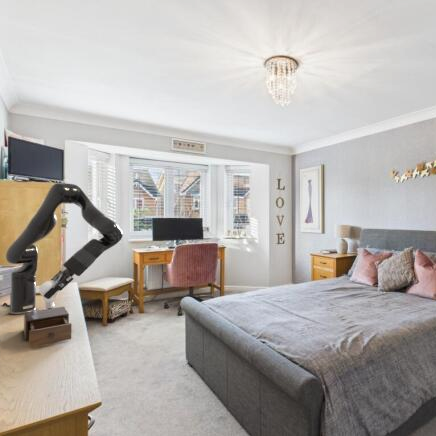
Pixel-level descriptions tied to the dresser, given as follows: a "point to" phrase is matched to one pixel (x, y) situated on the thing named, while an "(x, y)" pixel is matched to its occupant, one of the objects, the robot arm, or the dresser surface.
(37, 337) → the drawer
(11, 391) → the dresser surface
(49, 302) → the lightbulb
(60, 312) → the cabinet
